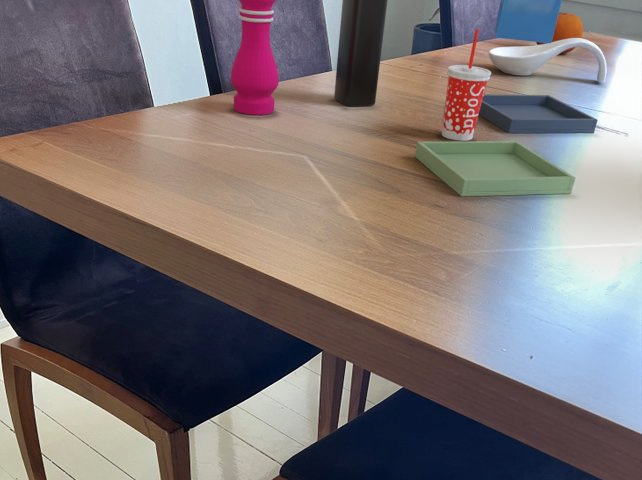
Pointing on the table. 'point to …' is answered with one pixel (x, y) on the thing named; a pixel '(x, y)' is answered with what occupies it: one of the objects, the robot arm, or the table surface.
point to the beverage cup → (464, 98)
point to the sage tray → (493, 168)
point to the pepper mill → (255, 60)
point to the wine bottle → (359, 51)
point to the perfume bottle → (527, 20)
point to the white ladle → (541, 56)
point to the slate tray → (535, 114)
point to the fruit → (567, 29)
